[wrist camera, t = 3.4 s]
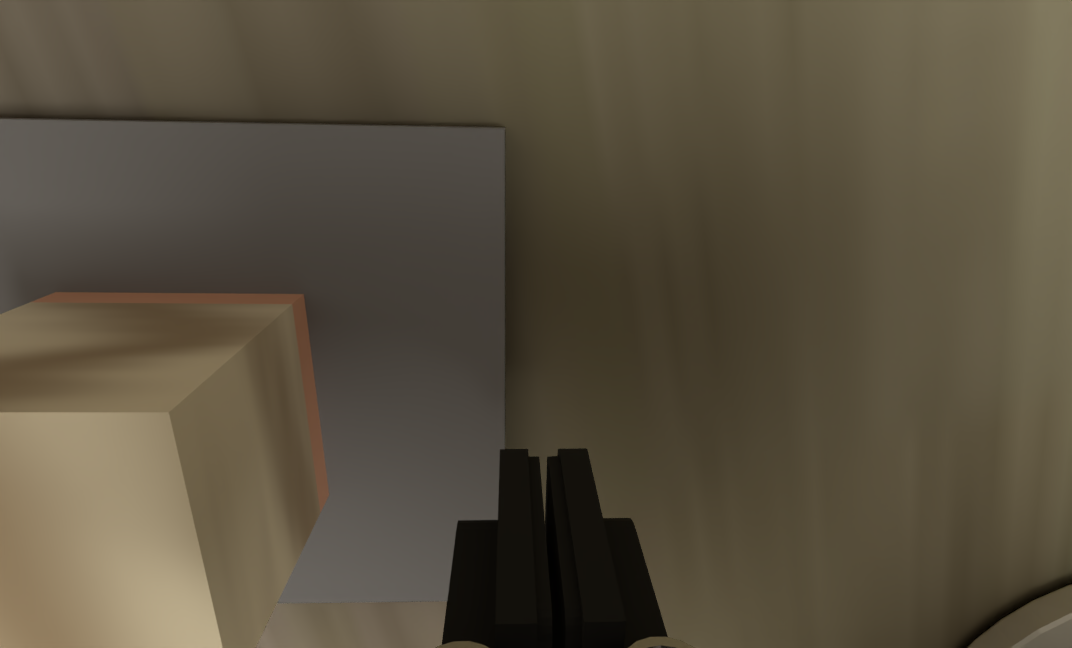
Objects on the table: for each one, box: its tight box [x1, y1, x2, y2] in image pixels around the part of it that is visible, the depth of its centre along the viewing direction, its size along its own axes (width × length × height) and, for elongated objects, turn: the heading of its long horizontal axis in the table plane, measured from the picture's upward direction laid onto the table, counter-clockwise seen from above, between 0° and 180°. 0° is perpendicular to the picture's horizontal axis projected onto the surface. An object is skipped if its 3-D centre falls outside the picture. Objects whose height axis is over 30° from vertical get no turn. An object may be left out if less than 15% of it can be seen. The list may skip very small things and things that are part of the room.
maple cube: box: [0, 292, 329, 648], centre depth 13 cm, size 6×6×6 cm
